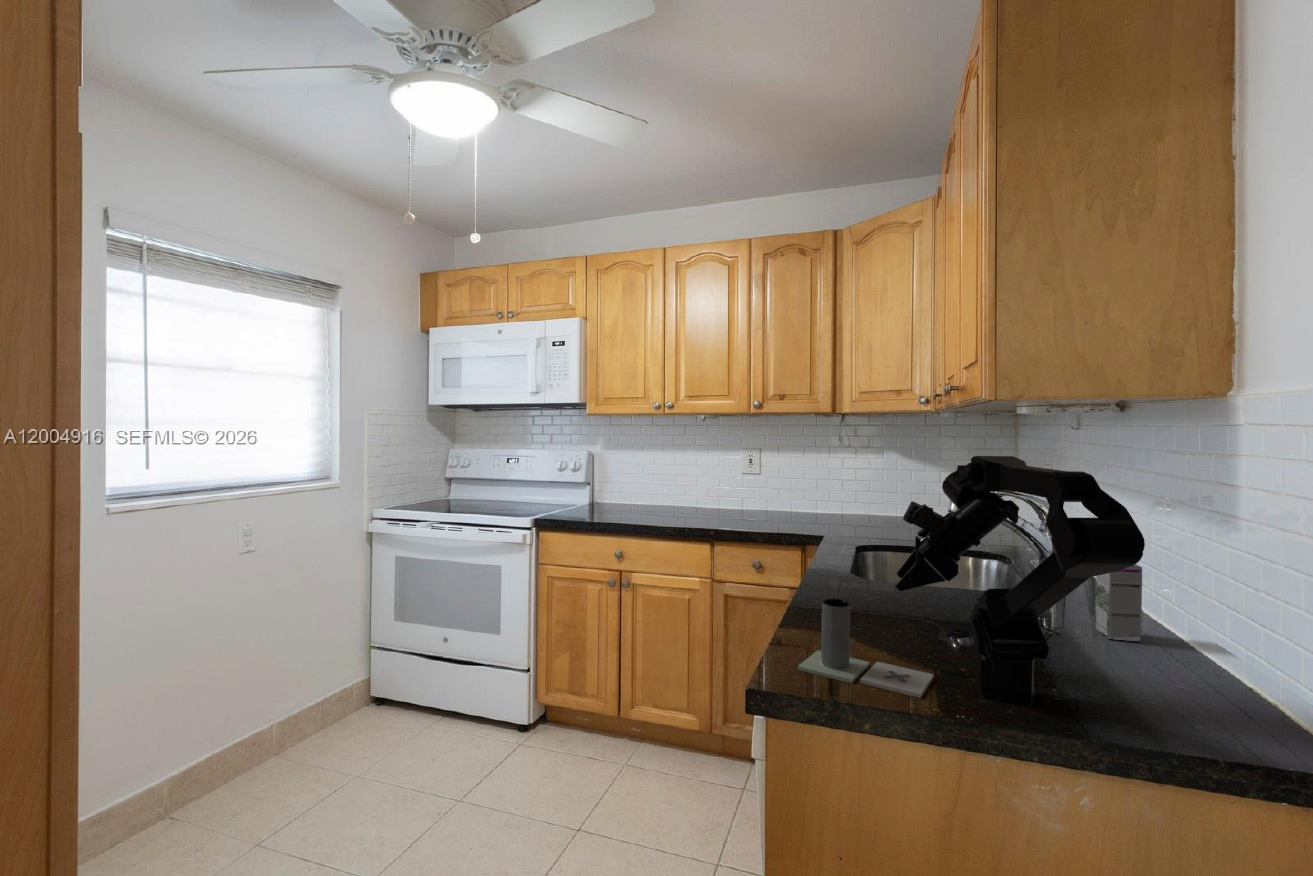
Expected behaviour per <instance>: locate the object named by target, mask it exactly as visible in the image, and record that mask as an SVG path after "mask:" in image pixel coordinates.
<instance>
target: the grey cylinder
mask: <svg viewBox="0 0 1313 876" xmlns="http://www.w3.org/2000/svg"><path fill="white" fill-rule="evenodd" d="M850 644H851V603H850V602H849V601H847V600H844V599H841V598H840V599H838V598H827V599H824V600H822V601H821V643H820V645H821V646H820V647H821V648H820V651H821V663H822V664H823V665H825V666H827V667H830V668H837V669H841V668H846V667H848V666H849V657H850V652H851V651H850V647H851V645H850Z"/></svg>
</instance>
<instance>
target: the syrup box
mask: <svg viewBox="0 0 1313 876" xmlns="http://www.w3.org/2000/svg"><path fill="white" fill-rule="evenodd" d="M1142 601H1143V567H1142V566H1140V565H1138V564H1135V565H1133V566H1130V567H1128V568H1125V569H1123V570H1120V571H1117V572H1112V573H1108V574H1103V575H1098V576H1095V607H1094V608H1095V612H1094V613H1095V615H1094V622H1095V623H1094V629H1095V628H1096V629H1097V630H1099V631H1100V632H1103V633H1104V634H1105V635H1106V636H1108V637H1109V636H1110V637H1131V638H1132V637H1141V638H1142V613H1143V612H1142V609H1143V608H1142V605H1143V602H1142Z"/></svg>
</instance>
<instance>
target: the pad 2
mask: <svg viewBox="0 0 1313 876" xmlns="http://www.w3.org/2000/svg"><path fill="white" fill-rule="evenodd" d="M934 678H935V674H933V673H928V672H925V671H921V670H917V669H911V668H907V667H903V666H899V665H894V664H889V663H885V662H881V661H876V662H875V663H873V665H872V666H871V667H870V668H869V669H868V670H867V671H866V673H865V674H863V676H861V678H860V679H859V683H860V684H862V683H863V685H867V686H872V687H874V688H879V689H883V690H887V691H890V692H894V693H898V694H903V695H905V696H906V695H908V696H911V697H915V698H918V699H922V696H923V695H924V694H925V692H926V691H927V689H928V688H929V686H930V684H931V683H932V681H933V680H934Z"/></svg>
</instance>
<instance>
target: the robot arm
mask: <svg viewBox="0 0 1313 876" xmlns="http://www.w3.org/2000/svg"><path fill="white" fill-rule="evenodd" d="M941 486H942V487H941V488H942V491H943V493H944V494H945V496H946V497H947V498H949V500H950V501H951V502H952V503H953V505H955V506H956V508H957V510H956V511H955V512H954V511H953V512H948V513H946V514H945V515H944V516H943V515H941V514H939V513H937V512H936V511H934V508H933V507H930V506H928V505H926V504H925V503H923V504H922V505H921V504H920V503H917V502H915V501H912V500H911V502H910V503H909V505H908V507H907V509H906V510H905V512H904V514H903V517H902V520H903V521H904V522H907V523H908V524H910V525H914V526H917V527H918V528H920V529H919V530H918V531H917V533H916V534H917V535H915V539H914V540H915V542H914V543H915V547H914V550H913V551H912V552H911V553H910V555H909V557H907V559H906V560H905V562H904V563H903V564H902V566H901V567H899V570H898V571H897V572H896V575H897V576H898V578H899V579H900V580H899V581H898V582H897V583H896V584H895V588H896V589H897V590H898V592H904V591H907V590H912V589H914V588H915V589H916V588H919V587H924V586H927V585H928V586H929V585H933V584H937V583H944V582H946V581H948V582H950V581H952V580H953V578H955V577H956V576H958V575H959V564H958V562H959V561H960V560H961V556H962V555H964V553H966V552H967V551H968V550H969V549H971V548H972V547H974V546H975V547H978V546H979V545H980V544H981V543H982V542H981V540H983V539H984V538H985V537H986V536H987V535H989V534H990V533H991V532H992V531H993V530H995V529H996V528H997V527H998V526H999V525H1001V524H1002V523H1003V522H1004V521H1006V520H1009V521H1010V522H1011V523H1012V524H1015V525H1016V524H1018V522H1019V511H1020V507H1019V506H1018V504H1016V503H1015V502H1014V501H1013V499H1012V500H1011V499H1009V500H1006V499H1004V498H1002V496H1001V495H999V494H997V493H1021V494H1026V495H1029V496H1035V497H1038V498H1039V497H1040V498H1044V499H1045V500H1046V501H1047V503H1048V505H1049V507H1048V510H1047V516H1046V522H1045V525H1046V528H1047V529H1048V532H1049V533H1050V535H1051V537H1050V540H1051V541H1050V542H1051V545H1052V549H1053V551H1052V552H1051V553H1050V554H1049V555H1048V556H1047V557H1046V558H1045V559H1044V560H1043V561H1042V562H1040V563H1039V564H1038V565H1037V566H1036V567H1035V568H1033V569H1032V571H1030V572H1029V573H1028V574H1027V575H1026V576H1025V577H1024V578H1022V579H1021V580H1020V581H1019V582H1018V583H1017V584H1016V585H1015V586H1013V587H1012V588H988V589H987V590H984V592H983V594H982V595H981V597H976V601H977V602H976V604H975V605H974V607H973V609H972V610H971V614H970V618H969V620H970V624H971V633H972V634H971V635H972V640H973V641H972V642H973V644H974V648H975V649H976V654H978V655H982V657H981V659H980V672H979V673H980V675H979V686H980V687H981V688H982V690H981V695H983V696H985V697H989V698H992V699H993V698H995V699H997V700H1003V701H1006V702H1007V701H1008V702H1009V703H1010V702H1011V703H1015V704H1020V705H1023V706H1027V707H1031V706H1032V705H1033V701H1034V697H1035V693H1036V688H1034V679H1035V678H1034V676H1035V675H1034V674H1035V673H1034V672H1035V659H1037V660H1038V659H1041V660H1047V658H1048V655H1049V651H1050V646H1049V645H1048V643H1047V640H1046V638H1045V635H1044V634H1043V632H1042V628H1041V627H1042V626H1041V623H1040V619H1039V617H1040V616H1042V615H1044V614H1045V613H1046V612H1047V611H1048V610H1050V609H1051V608H1053V607H1054V606H1055V605H1056V604H1058V603H1059V602H1060V601H1062V600H1063V599H1064V598H1066V597H1067V596H1068V595H1070V594H1071V593H1072V592H1073V591H1075V590H1076V589H1078V588H1079V587H1080V586H1082V585H1083V584H1084V583H1085V582H1087V581H1088V580H1089V579H1090V578H1092V577H1093V578H1094V577H1096V576H1098V575H1103V574H1108V573H1112V572H1117V571H1120V570H1123V569H1125V568H1128V567H1130V566H1133V565H1135V564H1136V565H1138V563H1139V562H1140V561H1141V559H1142V557H1143V556H1144V551H1145V546H1146V543H1145V538H1144V534H1143V532H1141V529H1140V528H1139V527H1138V525H1137V523H1136V522H1135V520H1134V519H1133V517H1132V515H1131V513H1130V512H1129V510H1128V509H1127V508H1126V507H1125V506H1124V505H1123V504H1122V503H1121V502H1119V501H1118V500H1116V499H1115V498H1114V497H1112V496H1111V495H1110V494H1108V493H1107V492H1106V491H1104V490H1103V489H1102V488H1101V486H1099V483H1098V482H1097V480H1096V478H1095V477H1094V476H1093V475H1092V474H1090V473H1087V472H1084V471H1080V470H1078V471H1074V470H1073V471H1070V470H1069V471H1067V470H1060V469H1052V468H1051V469H1050V468H1045V467H1038V466H1037V467H1036V466H1031V465H1030V466H1029V465H1027V464H1026V461H1024V460H1023V459H1021V458H1018V457H1016V456H1013V455H1012V456H1011V455H974V456H972V457H971V458H970V462H968V463H967V464H965V465H964V464H963V465H962V464H961V465H960V464H958V465H957V467H956V470H955V471H953V472H951V473H950V474H949V475H947V476H946V477H945V478H944V480H943V481H942V485H941ZM1065 503H1081V504H1082V506H1083V508H1085V509H1086V510H1088V511H1089V512H1090V513H1091V514H1093V515H1094V516H1095V517H1068V515H1067V513H1066V511H1065V509H1064V505H1065ZM995 641H1015V643H1013V642H1011V643H1007V642H1003V643H1001V642H995ZM1016 641H1017V642H1018V641H1019V642H1020V641H1021V642H1022V641H1023V643H1016Z"/></svg>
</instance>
